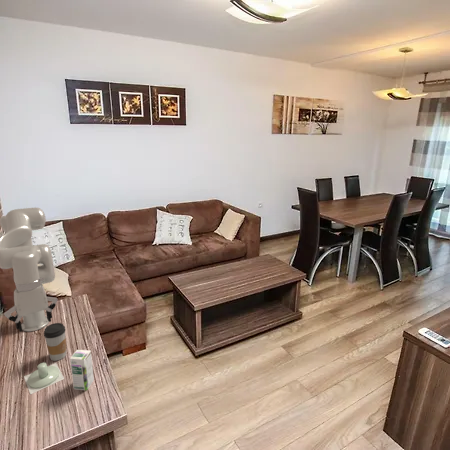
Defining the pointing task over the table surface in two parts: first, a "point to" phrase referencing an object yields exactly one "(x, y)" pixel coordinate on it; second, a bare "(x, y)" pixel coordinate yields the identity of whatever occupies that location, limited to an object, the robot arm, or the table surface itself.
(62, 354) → the coffee cup
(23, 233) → the robot arm
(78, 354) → the syrup box
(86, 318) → the table surface
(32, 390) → the mat
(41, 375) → the lid
